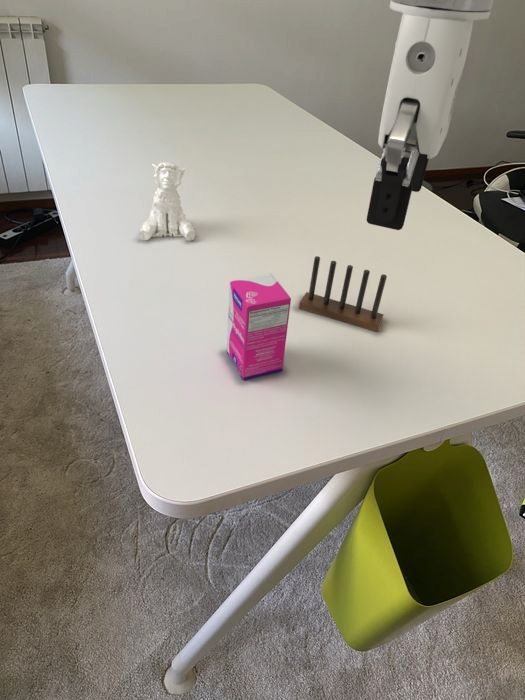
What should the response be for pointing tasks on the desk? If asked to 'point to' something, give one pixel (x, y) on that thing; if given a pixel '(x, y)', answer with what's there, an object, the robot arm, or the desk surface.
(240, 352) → the supplement box
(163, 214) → the white creature statuette
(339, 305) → the rack
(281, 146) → the desk surface
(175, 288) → the desk surface
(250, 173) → the desk surface
